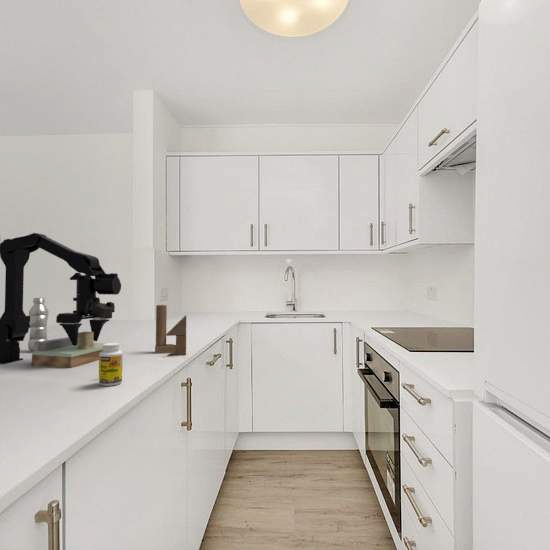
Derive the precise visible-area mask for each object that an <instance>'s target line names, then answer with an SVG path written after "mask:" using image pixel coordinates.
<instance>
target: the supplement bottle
mask: <svg viewBox="0 0 550 550" xmlns="http://www.w3.org/2000/svg"><path fill="white" fill-rule="evenodd" d="M105 343H106V344H103V351H102V352H100V354H99V360H98V384H99V385H100V386H103V387H113V386H117V385H120V384H121V383H122V382H123V360H124V359H123V357H124V356H123V351H122V350H121V349H120V343H118V342H105Z"/></svg>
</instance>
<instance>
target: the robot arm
mask: <svg viewBox="0 0 550 550" xmlns="http://www.w3.org/2000/svg"><path fill="white" fill-rule="evenodd" d="M39 249H41V250H43V251H45V252H48V253H49V254H51V255H52V256H55V257H57V258H59V259H61V260H63V261H64V262H66V263H67V264H68V266H69V267H70V268H71V269H73V270H74V271H75V273H74V274H73V275H72V276H70V277H69V281H76V288H75V289H76V293H75V294H76V295H75V296H76V297H72V299H73V302H76V303H75V307H76V308H75V310H73V311H72V312H62V313H61V312H60V313H58V314H57V315H56V318H55V319H56V324H57V323H58V324H59V326H61V327H62V328H63V330H64V331H65V333H66V335H67V337H69V339H70V340H71V342H72V344H73V345H74V346H76V345H77V341H78V333H79V328H80V327H81V326H82V325H83V323H81V322H82V320H89V326H90V332H94V338H93V342H98V340H99V337H100V335H101V331H102V329H103V326H104V325H105V324H106V323H108V322H110V319H112V318H113V313H115V306H116V305H115V302H112V301H108V302H106V303H102V302H101V299H100V297H97V294H98V295H109V296H110V295H119V293H120V292H121V289H122V283H121V280H120V277H118V275H119V274H118V273H115V272H114V273H113V272H112V273H106V272H105V270H104V269H103V268H102V266H101V264H100V260H99V258H98V257H96V256H94V255H91V254H87V253H83V252H79V251H77V250H74V249H72V248H70V247H68V246H66V245H64V244H62V243H60V242H58V241H56V240H54V239H53V238H50V237H48V236H47V235H46V234H42V233H38V232H32V233H30V234H28V235H24V236H18V237H17V236H16V237H14V238H6V239H3V241H2V242H0V259H1V261H2V263H3V264H4V267H5V281H4V283H5V284H4V310H3V311H4V312H3V313H2V315H0V364H7V365H8V364H11V363H14V362H20V361H23V360H24V358H22V357H21V356H20V355H21V352H20V351H21V347H20V342H24V340H25V337H26V335H27V334H28V333H29V332H30V331H29V330H30V328H31V326H30V316H29V315H26V314H25V313H26V312H24V279H25V277H24V275H25V274H24V273H25V272H24V271H25V266H26V265H27V263H28V261H29V259H30V256H31V255H30V254H32V253H34V252H36V251H38V250H39ZM93 277H94V278H93Z"/></svg>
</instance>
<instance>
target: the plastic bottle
mask: <svg viewBox="0 0 550 550" xmlns="http://www.w3.org/2000/svg"><path fill="white" fill-rule="evenodd" d="M32 303H33V305H32V306H31V307H30V309H29V311H28V316H30V326H31V328H29V330H30V331H29V337H28V338H29V339H28V343H27V349H28V350H29V351H30V352H32V351H37V350H38V342H42V341H47V340H49V339H48V333H47V331H48V330H47V328H48V326H47V324H48V318H49V308H47V306H46V305H45V303H46V301H45V297H33V299H32Z"/></svg>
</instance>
